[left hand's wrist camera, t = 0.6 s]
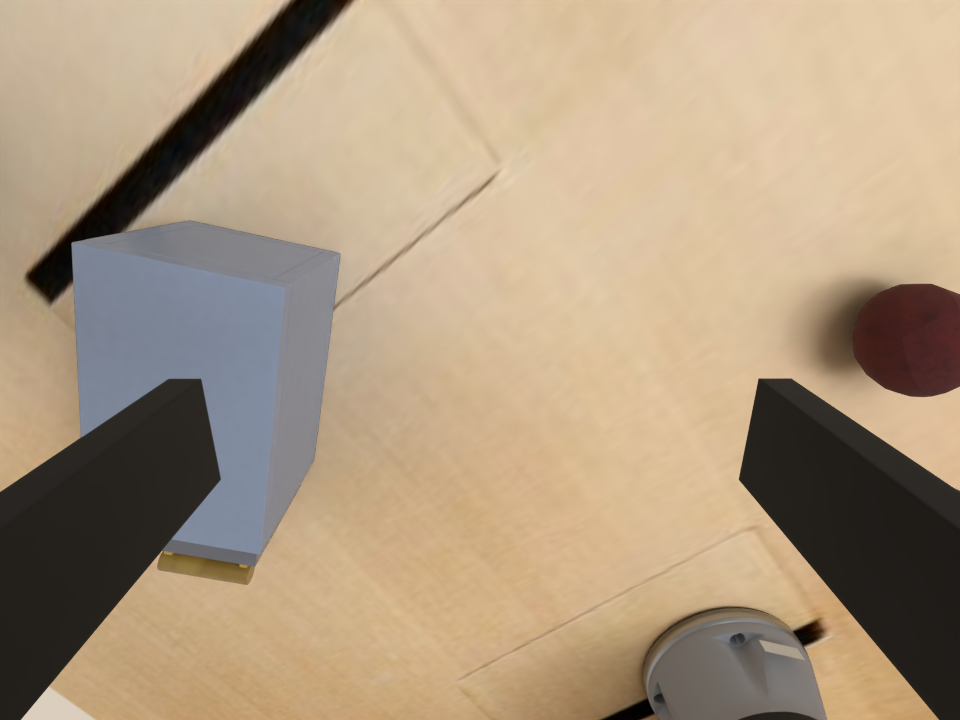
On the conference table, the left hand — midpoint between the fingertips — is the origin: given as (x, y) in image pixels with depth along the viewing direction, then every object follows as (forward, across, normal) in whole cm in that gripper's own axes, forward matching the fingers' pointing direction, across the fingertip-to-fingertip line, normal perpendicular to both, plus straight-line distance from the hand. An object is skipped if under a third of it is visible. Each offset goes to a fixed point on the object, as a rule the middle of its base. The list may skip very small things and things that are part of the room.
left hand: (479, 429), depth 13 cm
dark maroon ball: (+26, +30, -5) cm, 40 cm away
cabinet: (+26, -17, -7) cm, 32 cm away
